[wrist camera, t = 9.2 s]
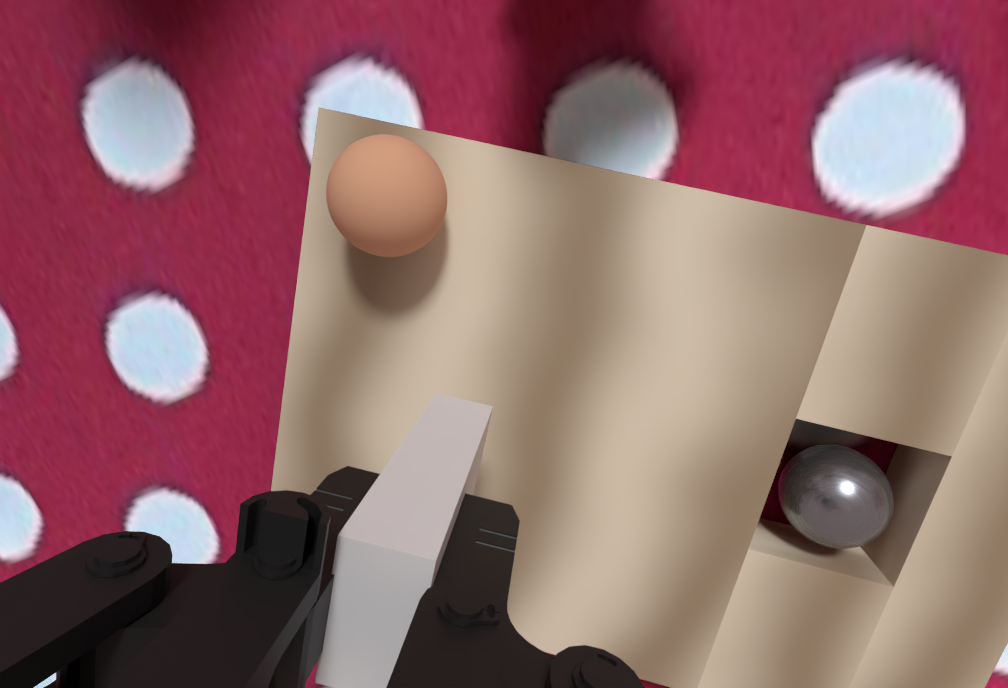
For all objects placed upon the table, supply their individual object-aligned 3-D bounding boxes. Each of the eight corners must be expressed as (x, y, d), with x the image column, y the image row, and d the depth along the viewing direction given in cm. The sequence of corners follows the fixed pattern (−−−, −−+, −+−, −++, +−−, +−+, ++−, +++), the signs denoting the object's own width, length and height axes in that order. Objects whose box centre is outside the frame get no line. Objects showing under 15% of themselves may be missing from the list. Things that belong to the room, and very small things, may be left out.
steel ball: (877, 586, 17) (864, 539, 20) (920, 488, 16) (901, 454, 19) (762, 538, 18) (765, 500, 21) (797, 445, 17) (796, 420, 20)
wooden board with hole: (294, 534, 23) (261, 571, 21) (351, 120, 19) (318, 107, 17) (903, 702, 21) (944, 764, 19) (1104, 282, 17) (1188, 294, 15)
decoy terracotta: (346, 240, 18) (296, 246, 15) (362, 131, 17) (312, 113, 14) (447, 263, 17) (418, 274, 14) (467, 154, 17) (441, 141, 14)
